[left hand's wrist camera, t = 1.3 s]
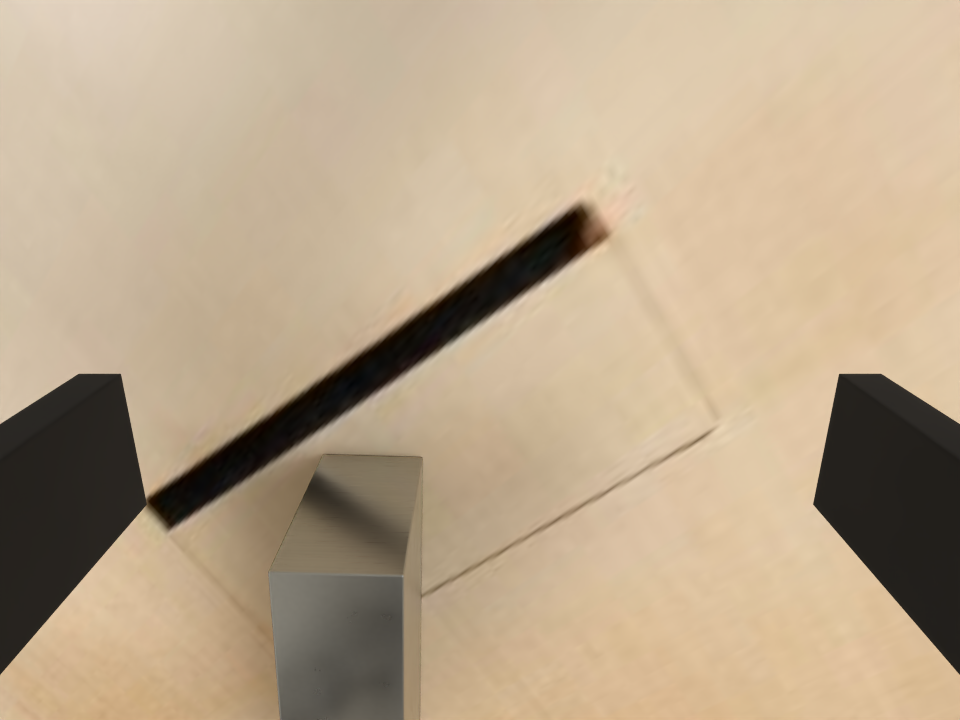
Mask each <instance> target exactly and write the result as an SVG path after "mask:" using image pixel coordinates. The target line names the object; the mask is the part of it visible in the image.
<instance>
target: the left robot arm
mask: <svg viewBox="0 0 960 720" xmlns="http://www.w3.org/2000/svg"><path fill="white" fill-rule="evenodd" d="M146 505H147V503H146V498H145V493H144V488H143V483H142V478H141V473H140V468H139V463H138V458H137V453H136V448H135V443H134V438H133V433H132V428H131V423H130V418H129V413H128V408H127V403H126V398H125V393H124V388H123V383H122V378H121V374H78V375H76V376H75V377H73V378H72V379H70V380H69V381H67V382H65V383H64V384H62V385H61V386H59V387H58V388H56V389H55V390H53V391H51V392H50V393H48V394H47V395H45V396H44V397H42V398H40V399H39V400H37V401H36V402H34V403H33V404H31V405H29V406H28V407H26V408H25V409H23V410H22V411H20V412H19V413H17V414H15V415H14V416H12V417H11V418H9V419H8V420H6V421H4V422H3V423H1V424H0V674H1V673H2V672H3V671H4V670H5V668H6V667H7V666H8V665H9V664H10V663H11V661H12V660H13V659H14V658H15V657H16V656H17V655H18V653H19V652H20V651H21V650H22V649H23V648H24V646H25V645H26V644H27V643H28V642H29V641H30V639H31V638H32V637H33V636H34V635H35V634H36V632H37V631H38V630H39V629H40V628H41V627H42V625H43V624H44V623H45V622H46V621H47V620H48V619H49V617H50V616H51V615H52V614H53V613H54V612H55V610H56V609H57V608H58V607H59V606H60V605H61V603H62V602H63V601H64V600H65V599H66V598H67V596H68V595H69V594H70V593H71V592H72V591H73V589H74V588H75V587H76V586H77V585H78V584H79V583H80V581H81V580H82V579H83V578H84V577H85V576H86V574H87V573H88V572H89V571H90V570H91V569H92V567H93V566H94V565H95V564H96V563H97V562H98V560H99V559H100V558H101V557H102V556H103V555H104V554H105V552H106V551H107V550H108V549H109V548H110V547H111V545H112V544H113V543H114V542H115V541H116V540H117V538H118V537H119V536H120V535H121V534H122V533H123V531H124V530H125V529H126V528H127V527H128V526H129V524H130V523H131V522H132V521H133V520H134V519H135V518H136V516H137V515H138V514H139V513H140V512H141V511H142V509H143V508H144V507H145V506H146ZM813 505H814V506H815V507H816V508H817V509H818V511H819V512H820V513H821V514H822V515H823V516H824V518H825V519H826V520H827V521H828V522H829V523H830V524H831V526H832V527H833V528H834V529H835V530H836V531H837V533H838V534H839V535H840V536H841V537H842V538H843V540H844V541H845V542H846V543H847V544H848V545H849V547H850V548H851V549H852V550H853V551H854V552H855V554H856V555H857V556H858V557H859V558H860V559H861V560H862V562H863V563H864V564H865V565H866V566H867V567H868V569H869V570H870V571H871V572H872V573H873V574H874V576H875V577H876V578H877V579H878V580H879V581H880V583H881V584H882V585H883V586H884V587H885V588H886V590H887V591H888V592H889V593H890V594H891V595H892V596H893V598H894V599H895V600H896V601H897V602H898V603H899V605H900V606H901V607H902V608H903V609H904V610H905V612H906V613H907V614H908V615H909V616H910V617H911V619H912V620H913V621H914V622H915V623H916V624H917V625H918V627H919V628H920V629H921V630H922V631H923V632H924V634H925V635H926V636H927V637H928V638H929V639H930V641H931V642H932V643H933V644H934V645H935V646H936V648H937V649H938V650H939V651H940V652H941V653H942V655H943V656H944V657H945V658H946V659H947V660H948V661H949V663H950V664H951V665H952V666H953V667H954V668H955V670H956V671H957V672H958V673H959V674H960V424H959V423H957V422H956V421H954V420H952V419H951V418H949V417H948V416H946V415H945V414H943V413H941V412H940V411H938V410H937V409H935V408H934V407H932V406H931V405H929V404H927V403H926V402H924V401H923V400H921V399H920V398H918V397H916V396H915V395H913V394H912V393H910V392H909V391H907V390H905V389H904V388H902V387H901V386H899V385H898V384H896V383H895V382H893V381H891V380H890V379H888V378H887V377H885V376H884V375H882V374H839V378H838V383H837V388H836V393H835V398H834V403H833V408H832V413H831V418H830V423H829V428H828V433H827V438H826V443H825V448H824V453H823V458H822V463H821V468H820V473H819V478H818V483H817V488H816V493H815V498H814V503H813Z"/></svg>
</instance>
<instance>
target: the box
mask: <svg viewBox="0 0 960 720" xmlns="http://www.w3.org/2000/svg"><path fill="white" fill-rule="evenodd" d="M422 474H423V458H422V457H393V456H360V455H327V454H324V455H323V456H322V458H321V460H320V462H319V464H318V466H317V469H316V471H315V473H314V475H313V477H312V479H311V481H310V484H309V486H308V488H307V490H306V492H305V494H304V497H303V499H302V501H301V503H300V505H299V507H298V509H297V512H296V514H295V516H294V518H293V520H292V522H291V525H290V527H289V529H288V531H287V533H286V535H285V538H284V540H283V542H282V544H281V546H280V548H279V550H278V553H277V555H276V557H275V559H274V561H273V563H272V566H271V568H270V570H269V572H268V575H269V587H270V600H271V612H272V625H273V637H274V649H275V662H276V674H277V687H278V699H279V712H280V720H420V666H421V570H422Z"/></svg>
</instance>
